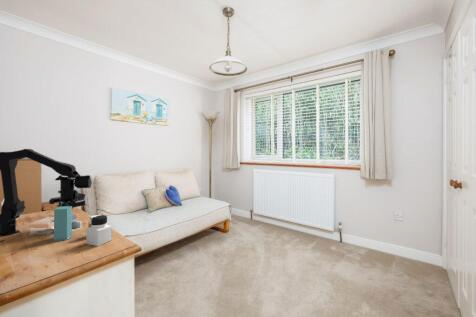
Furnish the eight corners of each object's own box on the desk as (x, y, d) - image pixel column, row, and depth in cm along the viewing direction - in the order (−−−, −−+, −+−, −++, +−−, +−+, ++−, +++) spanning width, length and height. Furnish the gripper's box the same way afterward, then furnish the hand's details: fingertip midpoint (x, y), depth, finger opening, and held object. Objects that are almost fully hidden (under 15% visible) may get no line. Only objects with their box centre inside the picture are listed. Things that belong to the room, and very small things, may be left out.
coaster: (49, 239, 100) (49, 238, 100) (65, 234, 107) (65, 233, 107) (60, 242, 98) (60, 241, 98) (76, 236, 105) (76, 235, 105)
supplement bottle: (101, 232, 111) (101, 214, 110) (101, 236, 106) (101, 216, 106) (88, 234, 108) (88, 215, 107) (88, 238, 103) (88, 218, 103)
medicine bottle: (111, 240, 101) (112, 215, 101) (97, 246, 95) (97, 219, 94) (100, 238, 104) (100, 213, 103) (85, 244, 97) (86, 217, 97)
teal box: (53, 239, 99) (54, 209, 99) (59, 235, 104) (59, 206, 104) (66, 238, 101) (67, 208, 101) (71, 234, 106) (72, 206, 105)
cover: (50, 222, 113) (51, 215, 113) (64, 218, 120) (65, 212, 120) (64, 224, 110) (64, 218, 110) (77, 220, 117) (77, 214, 117)
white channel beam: (50, 229, 113) (50, 222, 113) (65, 225, 120) (65, 218, 120) (68, 232, 109) (68, 225, 109) (82, 228, 116) (82, 221, 116)
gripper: (95, 187, 119) (94, 216, 119) (70, 185, 125) (70, 212, 125) (73, 190, 108) (73, 222, 109) (48, 188, 114) (48, 217, 115)
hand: (67, 218), depth 115 cm, fingers closed
